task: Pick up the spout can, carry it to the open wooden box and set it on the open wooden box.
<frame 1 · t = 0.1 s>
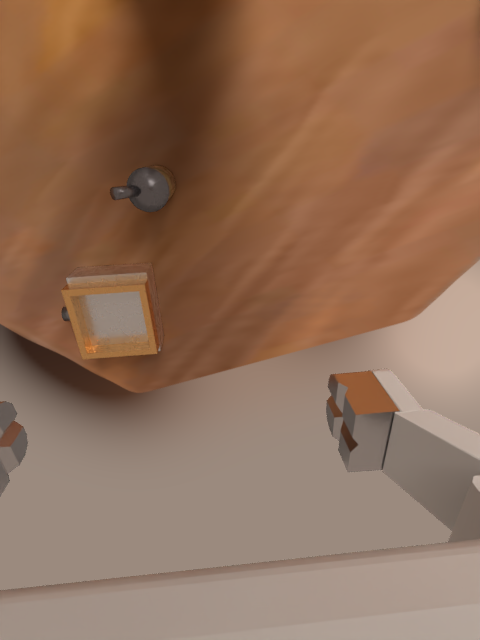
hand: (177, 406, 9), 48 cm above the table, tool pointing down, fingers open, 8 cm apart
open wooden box: (123, 303, 59), on the table
spout can: (158, 183, 50), on the table
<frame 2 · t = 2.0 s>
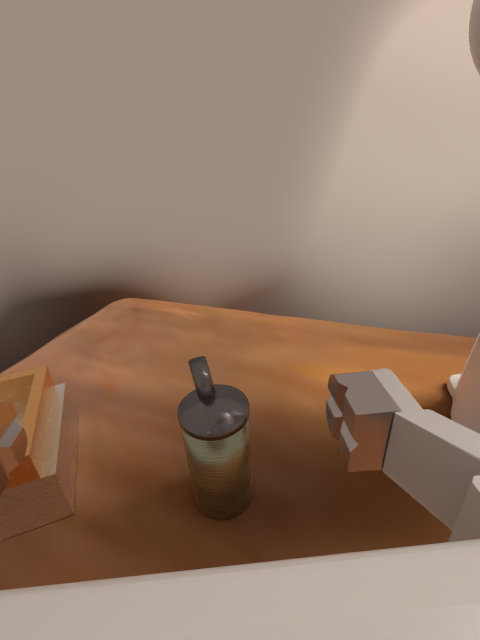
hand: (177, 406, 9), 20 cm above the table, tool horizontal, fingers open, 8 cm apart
spout can: (223, 491, 29), on the table
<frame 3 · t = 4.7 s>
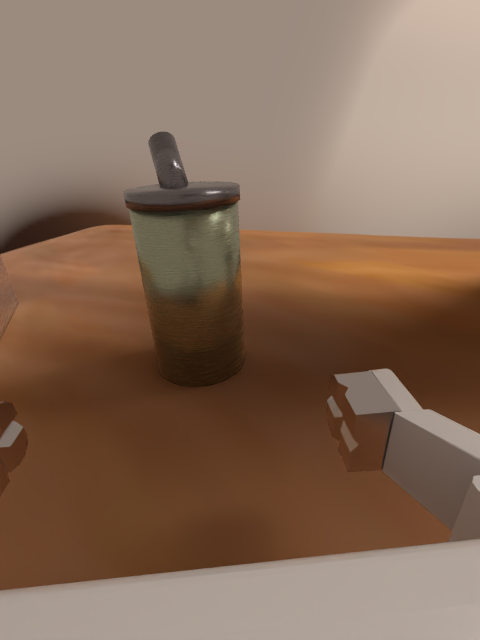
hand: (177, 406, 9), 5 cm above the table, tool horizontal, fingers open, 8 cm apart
spout can: (201, 359, 20), on the table
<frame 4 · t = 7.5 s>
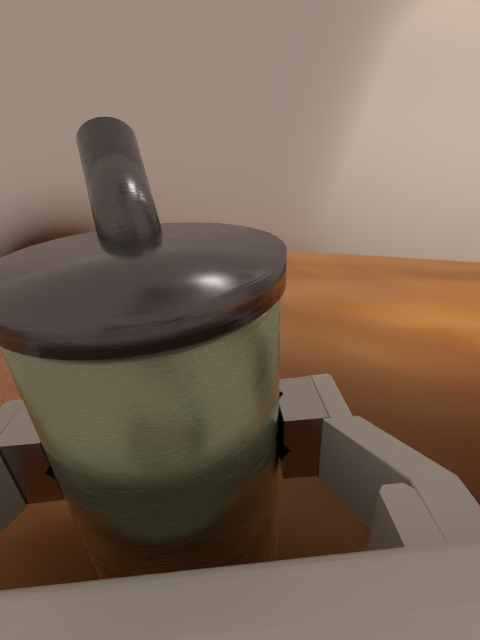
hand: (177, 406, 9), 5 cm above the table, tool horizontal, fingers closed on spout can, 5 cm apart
spout can: (195, 552, 10), on the table, touching gripper
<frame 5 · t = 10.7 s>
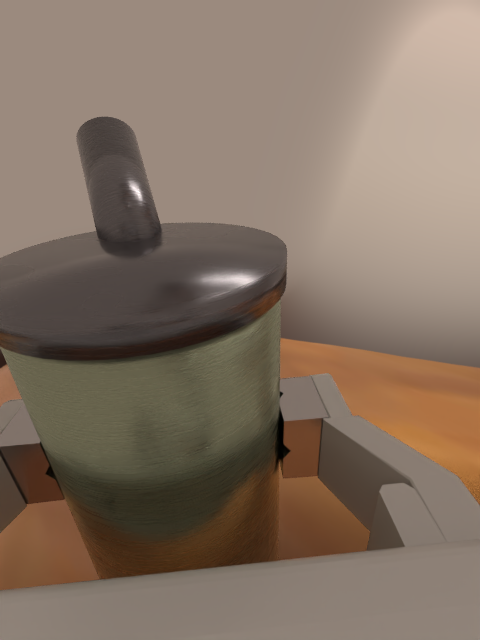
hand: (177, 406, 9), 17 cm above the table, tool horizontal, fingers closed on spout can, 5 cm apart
spout can: (196, 553, 10), point 12 cm above the table, touching gripper
when the fingers open (12 cm above the table, at t = 14.0 s): spout can drops 2 cm, resting on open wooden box.
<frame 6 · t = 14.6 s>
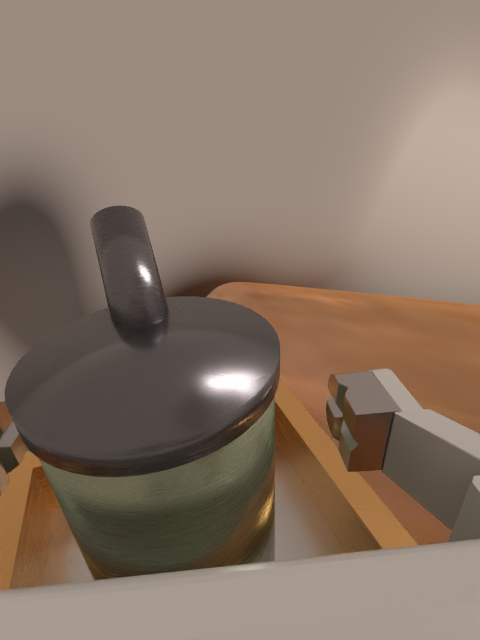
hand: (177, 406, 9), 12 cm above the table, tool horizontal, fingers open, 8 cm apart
spout can: (199, 588, 11), point 5 cm above the table, touching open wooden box
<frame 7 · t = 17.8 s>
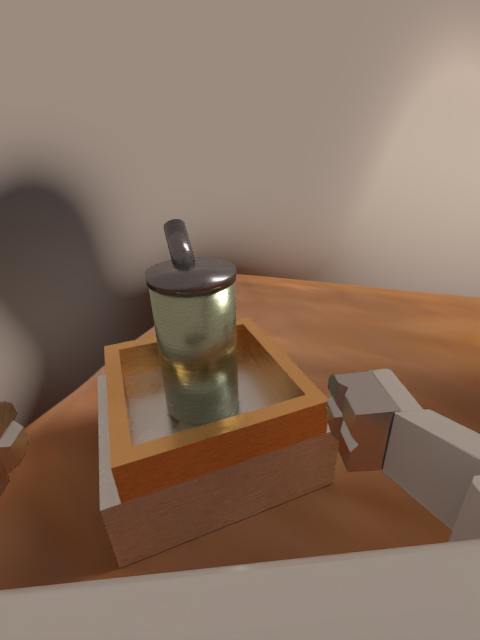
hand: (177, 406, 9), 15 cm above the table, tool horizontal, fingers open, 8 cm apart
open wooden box: (209, 450, 26), on the table
spout can: (202, 399, 24), point 5 cm above the table, touching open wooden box
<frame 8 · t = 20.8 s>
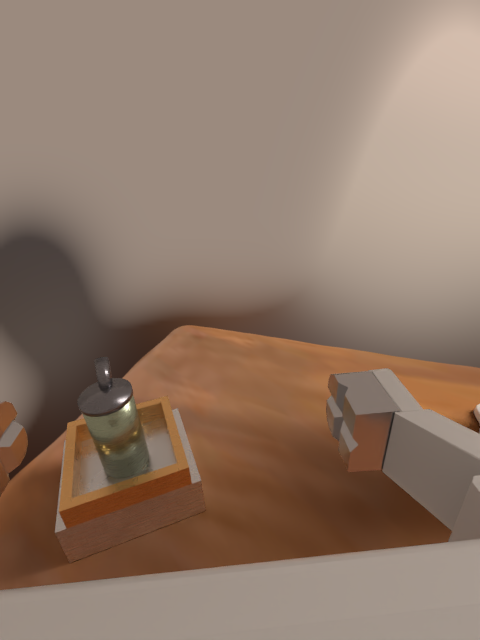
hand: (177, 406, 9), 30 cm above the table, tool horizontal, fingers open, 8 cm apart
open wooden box: (135, 488, 41), on the table
spout can: (126, 459, 38), point 5 cm above the table, touching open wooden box
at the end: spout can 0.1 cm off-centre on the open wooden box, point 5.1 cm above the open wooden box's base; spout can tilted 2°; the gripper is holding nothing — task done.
